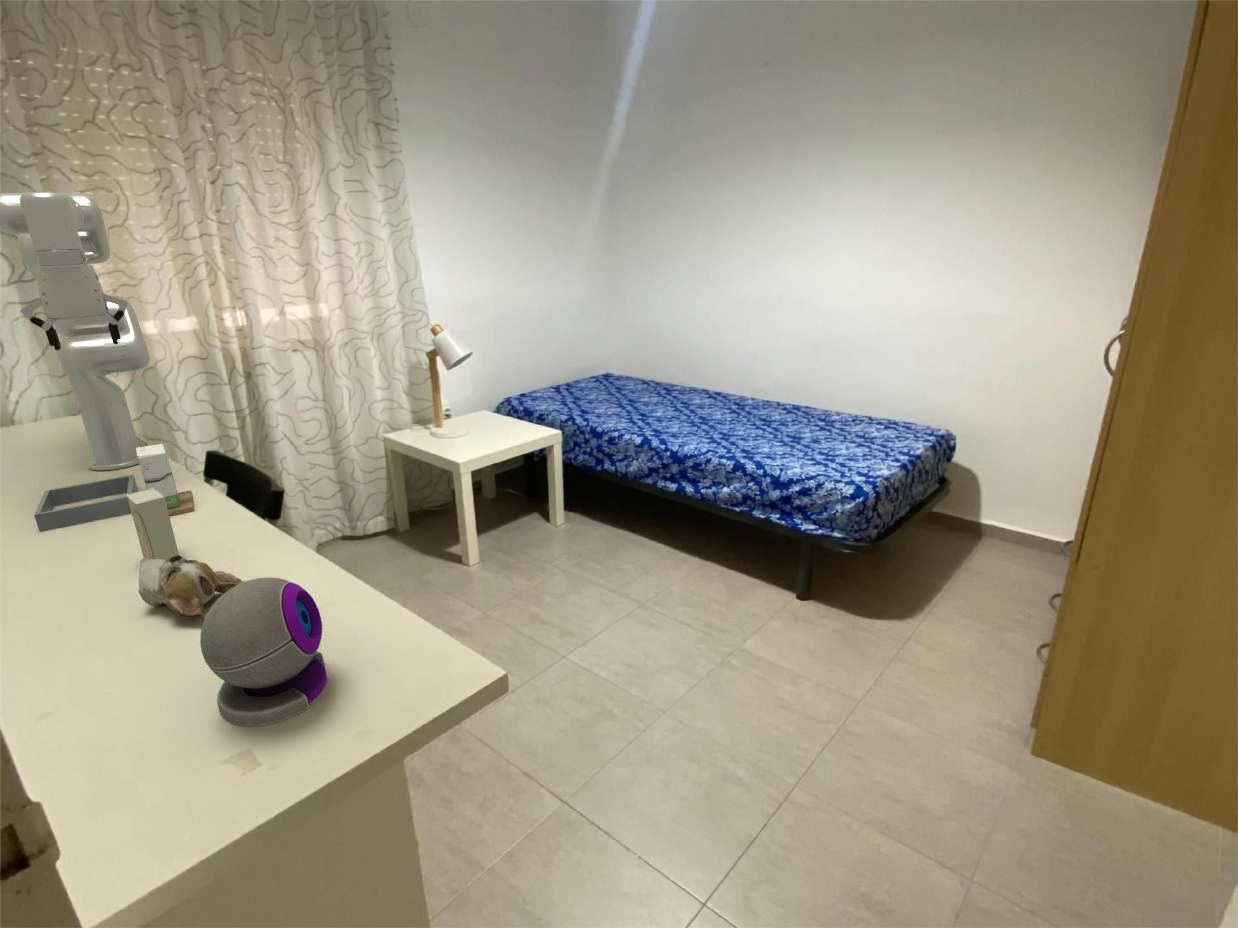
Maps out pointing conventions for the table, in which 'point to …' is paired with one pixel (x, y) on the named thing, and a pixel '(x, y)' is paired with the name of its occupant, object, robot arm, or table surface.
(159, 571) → the ceramic sculpture
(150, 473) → the ink box
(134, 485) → the bin
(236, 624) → the webcam
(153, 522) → the skincare box
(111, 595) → the table surface
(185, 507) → the pad
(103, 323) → the robot arm
